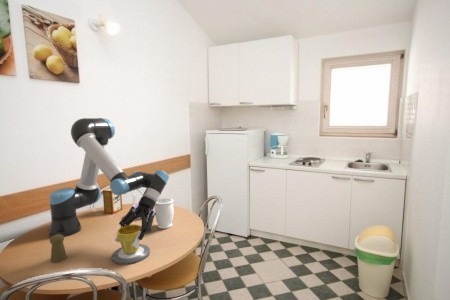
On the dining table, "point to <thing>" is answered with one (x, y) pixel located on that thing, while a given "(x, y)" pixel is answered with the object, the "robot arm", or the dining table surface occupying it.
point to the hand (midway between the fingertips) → (125, 244)
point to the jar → (164, 212)
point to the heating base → (131, 255)
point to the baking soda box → (111, 202)
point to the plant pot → (128, 237)
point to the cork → (57, 249)
